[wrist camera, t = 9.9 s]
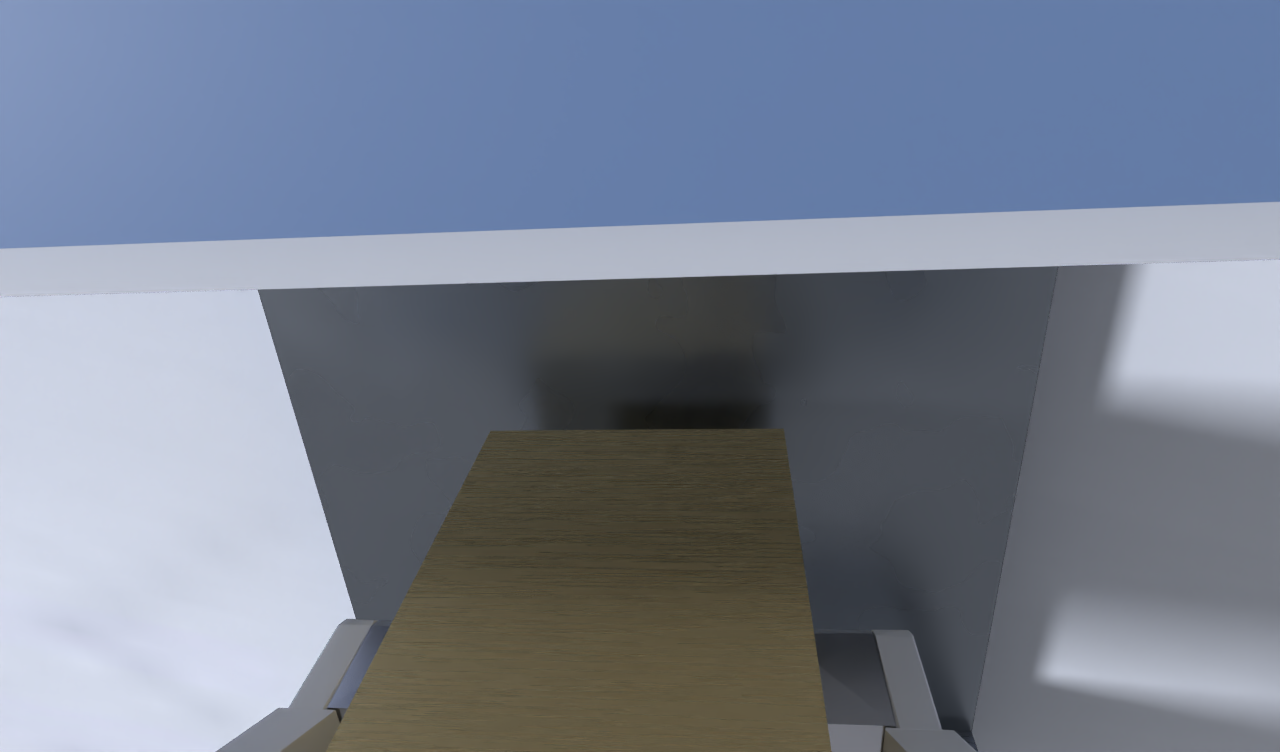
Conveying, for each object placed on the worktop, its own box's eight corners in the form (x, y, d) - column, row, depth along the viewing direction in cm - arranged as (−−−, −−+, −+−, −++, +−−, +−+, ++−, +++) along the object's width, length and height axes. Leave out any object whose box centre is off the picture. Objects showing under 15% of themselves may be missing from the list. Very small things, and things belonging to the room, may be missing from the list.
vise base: (143, -304, 12) (-925, -842, 4) (1135, -422, 10) (2362, -1619, 3) (426, 742, 22) (272, 1143, 14) (939, 761, 20) (1071, 1219, 13)
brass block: (490, 430, 13) (292, 817, 7) (783, 429, 13) (845, 844, 7) (520, 606, 15) (382, 1039, 9) (779, 611, 15) (824, 1075, 8)
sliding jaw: (133, -82, 11) (-511, -156, 5) (1149, -169, 10) (1808, -402, 4) (210, 167, 13) (-224, 321, 7) (1093, 124, 11) (1500, 276, 6)
